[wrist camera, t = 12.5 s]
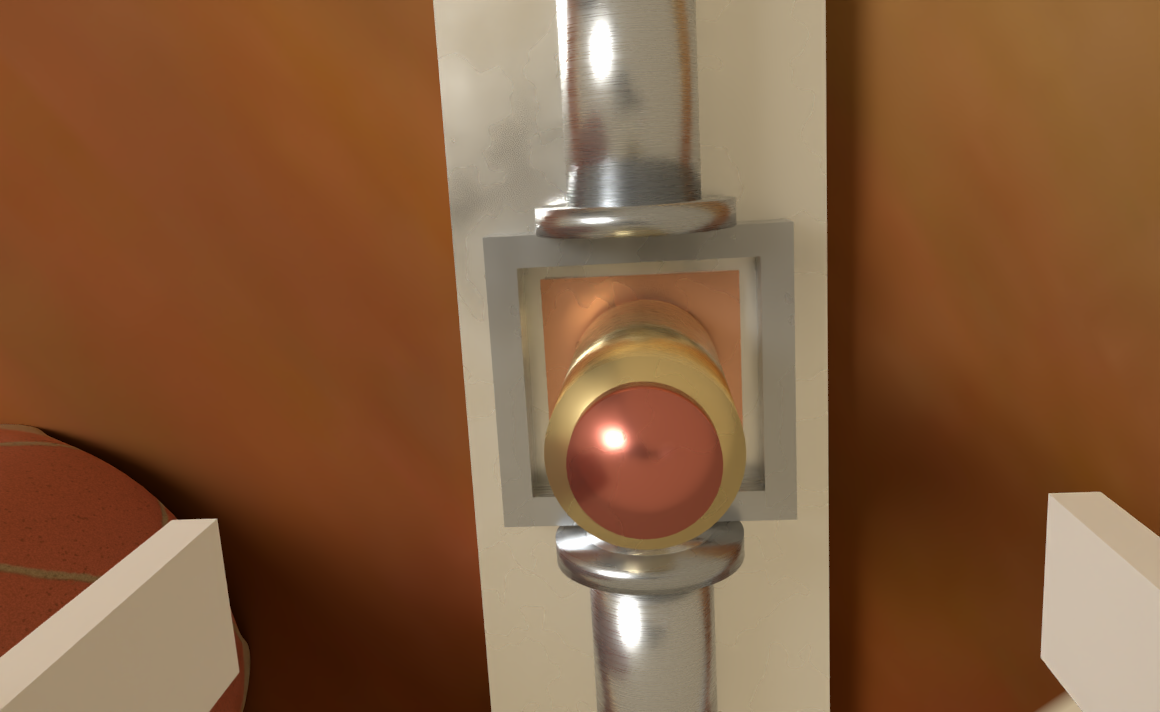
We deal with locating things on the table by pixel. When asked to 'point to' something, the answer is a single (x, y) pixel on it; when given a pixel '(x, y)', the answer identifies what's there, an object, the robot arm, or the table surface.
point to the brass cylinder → (645, 430)
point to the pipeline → (644, 272)
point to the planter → (71, 534)
